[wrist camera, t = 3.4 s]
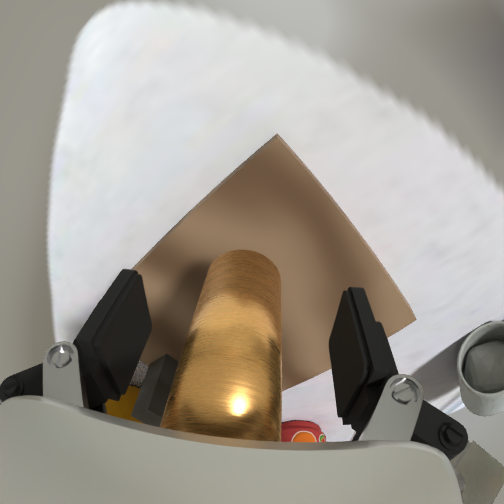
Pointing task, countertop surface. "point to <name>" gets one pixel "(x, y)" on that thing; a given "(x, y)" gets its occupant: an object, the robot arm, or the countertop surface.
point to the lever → (232, 354)
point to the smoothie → (301, 432)
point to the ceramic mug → (483, 369)
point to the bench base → (279, 252)
